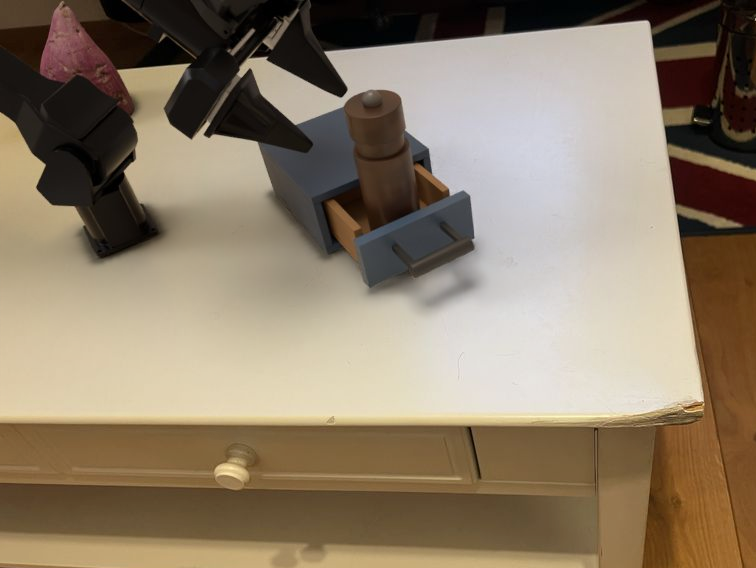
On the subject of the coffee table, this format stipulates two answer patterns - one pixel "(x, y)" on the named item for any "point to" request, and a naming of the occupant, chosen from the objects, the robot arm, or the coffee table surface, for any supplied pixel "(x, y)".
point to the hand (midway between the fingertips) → (328, 120)
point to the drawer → (404, 231)
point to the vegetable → (80, 58)
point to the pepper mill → (382, 156)
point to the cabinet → (321, 172)
